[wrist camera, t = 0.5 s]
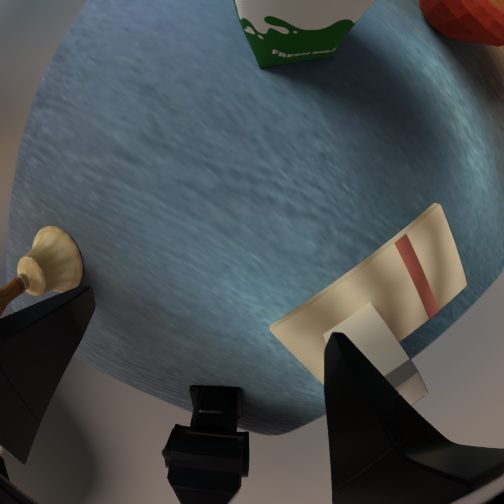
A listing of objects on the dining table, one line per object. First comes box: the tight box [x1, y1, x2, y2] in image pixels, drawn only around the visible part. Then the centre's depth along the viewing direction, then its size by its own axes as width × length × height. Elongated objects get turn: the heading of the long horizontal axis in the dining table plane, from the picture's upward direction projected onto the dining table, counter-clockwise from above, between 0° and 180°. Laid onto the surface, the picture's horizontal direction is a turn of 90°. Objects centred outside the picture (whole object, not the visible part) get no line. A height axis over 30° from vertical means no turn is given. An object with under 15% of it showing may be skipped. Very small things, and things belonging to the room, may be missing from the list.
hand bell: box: [0, 226, 83, 316], centre depth 19 cm, size 8×8×16 cm
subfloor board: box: [270, 203, 467, 385], centre depth 27 cm, size 22×12×1 cm, turn 128°
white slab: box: [323, 302, 428, 405], centre depth 22 cm, size 6×4×11 cm
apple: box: [419, 0, 504, 47], centre depth 11 cm, size 11×11×12 cm
